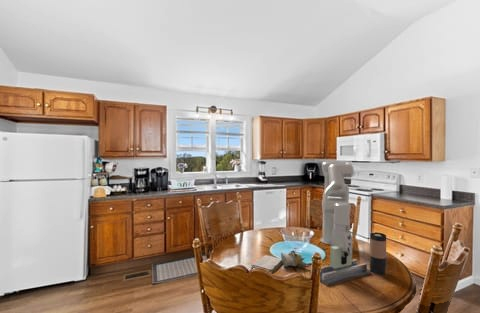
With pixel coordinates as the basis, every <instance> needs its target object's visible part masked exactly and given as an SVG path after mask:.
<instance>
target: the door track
mask: <svg viewBox="0 0 480 313" xmlns="http://www.w3.org/2000/svg"><path fill="white" fill-rule="evenodd" d="M358 262H359V261H358V258H357V259H356V258H353V259H352V265H348V266H344V267H340V268H336V269H334V268H332V267H330V264H329V265H324V266H320V267H321V272H320V282H321V283H323V284H324V285H325V286H327V287H328V286H333V285H336V284H339V283H343V282H347V281H350V280H353V279H357V278H360V277H361V278H362V277H365V276H367V275H371V274H372V272H371V271H370V269H368V264H367V263H366V262H364V263H360V264H358ZM309 273H310V274H311V271H310V272H309Z"/></svg>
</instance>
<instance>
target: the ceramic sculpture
mask: <svg viewBox="0 0 480 313" xmlns="http://www.w3.org/2000/svg"><path fill="white" fill-rule="evenodd" d="M302 256H303V255H301V253H300V252H296V251H295V250H291V251H289V253H285V252H281V253H280V258H281V259H282V261H283V263H282V265H283V266H284V267H285V268H286V267H289V266H292V267H296V266H298V268H301V269H304V268H308V267H311V265H310V264H307V263H306V262H303V261H304V260H305V257H302Z"/></svg>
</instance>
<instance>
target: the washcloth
mask: <svg viewBox="0 0 480 313" xmlns="http://www.w3.org/2000/svg"><path fill="white" fill-rule="evenodd" d="M281 265H283V261H282V259H281V257H275V256H271V255H266V254H265V255H263V256H262V257H261V258H259V259H258V260H256V261H255V262H253V263H251V269H253V268H263V269H265V270H267V271H269V272H271V273H274V272H275V271H276V270H277V269H278V268H279V267H280V266H281ZM271 273H270V274H271Z"/></svg>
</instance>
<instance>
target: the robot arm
mask: <svg viewBox="0 0 480 313" xmlns="http://www.w3.org/2000/svg"><path fill="white" fill-rule="evenodd" d="M321 170H322V171H321V172H322V173H323V175H324V191H323V193H322V200H321V209H322V237H321V238H320V239H319V241H320V242H321V243H322V244H326V245H330V247H333V246H337V247H340V248H341V250H342V257H341V264H342V265H343V264H346V263H347V256H348V255H351V254H352V255H353V249H354V248H353V235H352V232H351V227H350V225H351V224H350V220H351V219H350V216H351V215H350V213H351V209H352V206H351V203H350V202H349V199H350V198H349V197H350V188H349V186H348V184H346V183H345V178H349V179H350V178H353V177H354V174H355V172H354V167H353V165H352V164H351V163H350V162H349V161H324V162H322V163H321Z"/></svg>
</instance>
